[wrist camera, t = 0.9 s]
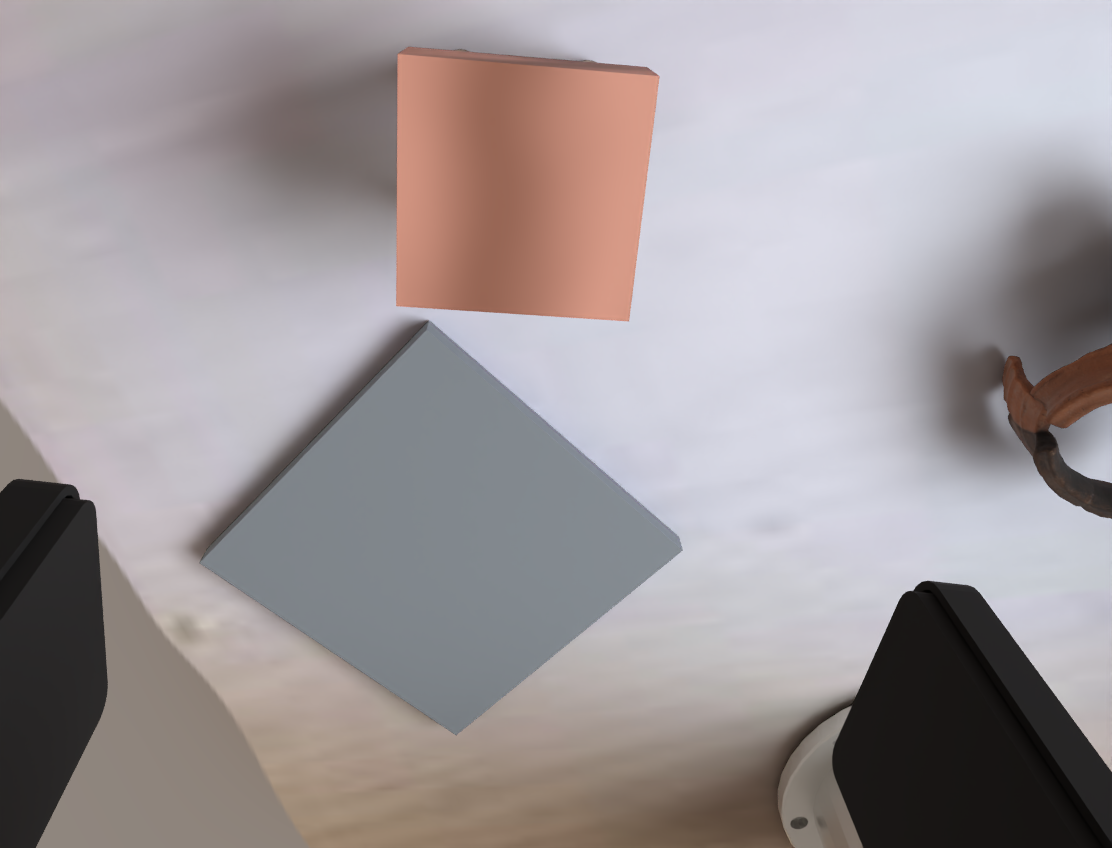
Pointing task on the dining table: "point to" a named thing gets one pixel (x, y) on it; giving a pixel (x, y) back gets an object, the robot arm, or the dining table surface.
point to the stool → (520, 182)
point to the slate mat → (441, 536)
